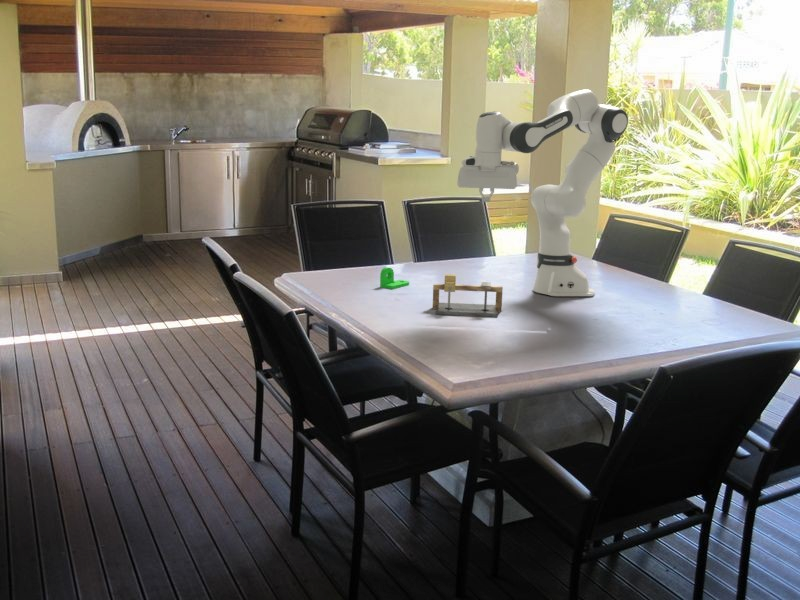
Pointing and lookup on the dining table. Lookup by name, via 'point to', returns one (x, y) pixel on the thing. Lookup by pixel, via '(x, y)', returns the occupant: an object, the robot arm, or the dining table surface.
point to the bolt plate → (466, 310)
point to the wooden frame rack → (483, 287)
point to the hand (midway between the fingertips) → (486, 201)
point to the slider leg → (449, 285)
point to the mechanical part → (390, 279)
